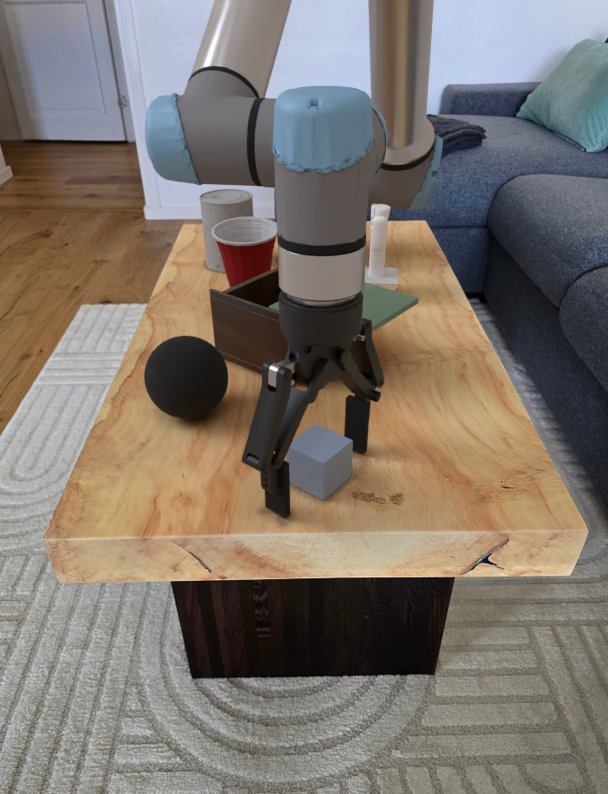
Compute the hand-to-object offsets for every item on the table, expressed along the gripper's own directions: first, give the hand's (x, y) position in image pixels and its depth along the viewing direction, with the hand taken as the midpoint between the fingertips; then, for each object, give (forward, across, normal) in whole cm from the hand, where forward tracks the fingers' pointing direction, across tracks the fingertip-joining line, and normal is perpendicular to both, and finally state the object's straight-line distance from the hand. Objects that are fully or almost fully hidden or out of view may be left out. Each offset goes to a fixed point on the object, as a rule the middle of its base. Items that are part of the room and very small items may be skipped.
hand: (319, 477), depth 68 cm
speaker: (0, -1, -21) cm, 21 cm away
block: (0, 0, 0) cm, 0 cm away
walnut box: (0, -21, -22) cm, 31 cm away
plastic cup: (0, -31, -39) cm, 50 cm away
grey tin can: (0, -41, -53) cm, 67 cm away
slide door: (-9, -21, -12) cm, 26 cm away
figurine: (0, -45, -23) cm, 51 cm away
